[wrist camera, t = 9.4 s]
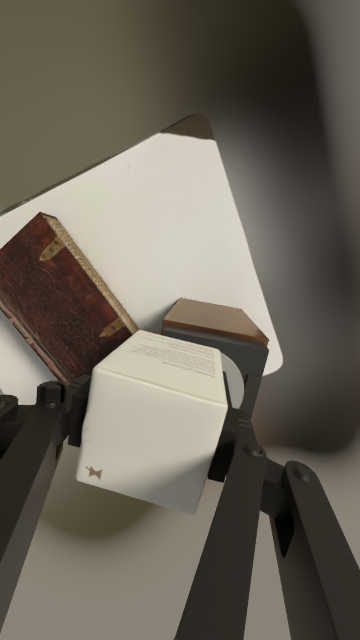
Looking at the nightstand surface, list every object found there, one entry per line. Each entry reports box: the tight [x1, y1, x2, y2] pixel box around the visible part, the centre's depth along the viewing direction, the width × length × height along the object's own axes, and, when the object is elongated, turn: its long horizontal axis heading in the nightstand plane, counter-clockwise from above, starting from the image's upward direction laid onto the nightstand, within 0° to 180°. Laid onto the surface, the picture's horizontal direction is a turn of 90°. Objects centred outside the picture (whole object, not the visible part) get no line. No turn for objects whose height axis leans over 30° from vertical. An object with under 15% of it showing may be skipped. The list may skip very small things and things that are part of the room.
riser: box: [161, 298, 269, 347], centre depth 38 cm, size 12×12×20 cm
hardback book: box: [0, 212, 140, 386], centre depth 47 cm, size 29×19×5 cm, turn 36°
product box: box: [76, 330, 228, 514], centre depth 14 cm, size 6×6×7 cm
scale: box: [162, 325, 269, 419], centre depth 27 cm, size 11×11×3 cm
